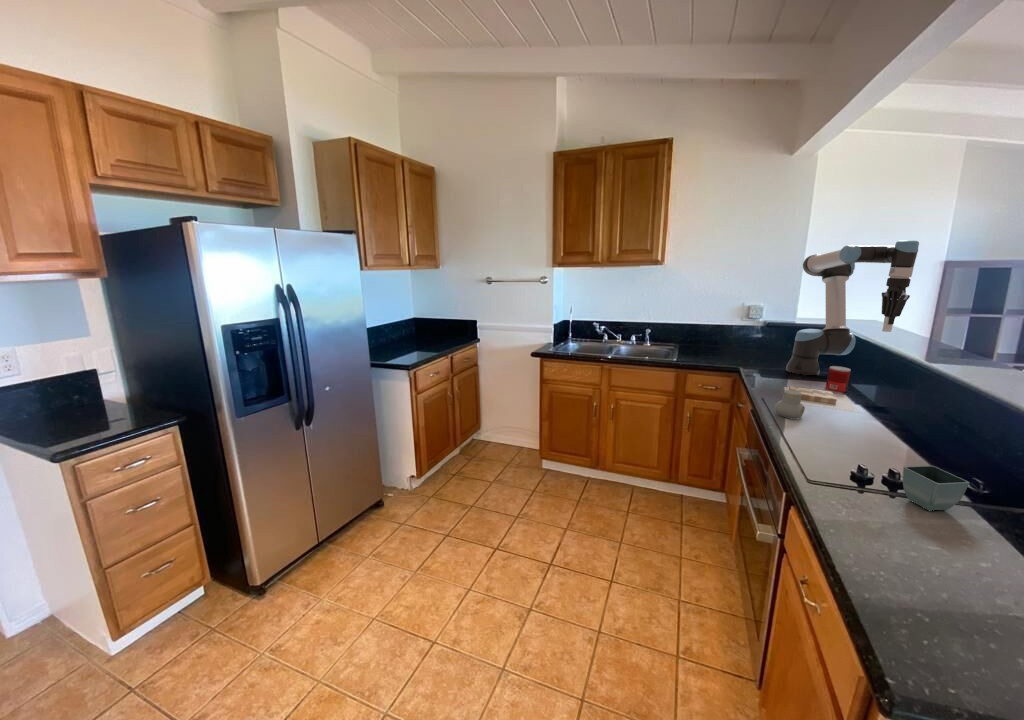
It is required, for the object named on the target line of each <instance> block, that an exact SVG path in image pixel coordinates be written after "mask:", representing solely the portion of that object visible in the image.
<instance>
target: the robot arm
mask: <svg viewBox="0 0 1024 720" xmlns="http://www.w3.org/2000/svg"><path fill="white" fill-rule="evenodd" d="M919 245H920V241H918V240H897V241H896V242H895V245H888V244H887V245H861V244H860V245H859V244H857V245H856V244H849V245H845V246H843V247H842V248H841V249H838V250H835V251H831V252H826V253H824V254H823V253H822V254H821V253H815V254H811V255H809V256H807V257H806V258H805V259H804V261H803V262H802V269H803V271H804V272H805V273H806V274H807V275H810V276H812V277H821V281H822V283H824V284H825V327H824V328H822V329H819V328H805V329H799V330H798V331H797V332H796V334H795V338H794V342H793V348H792V349H793V350H792V355H791V358H790V359H789V361H788V363H787V364H786V367H785V371H786V372H788V373H791V372H792V373H791V374H794V373H795V375H799V374H802V375H801V376H806V375H817V376H819V375H820V371H821V369H820V365H819V361H818V360H819V356H820V355H830V356H832V355H833V356H834V355H835V356H845V355H849V354H850V353H851V352H852V351H853V350H854V348H855V345H856V341H857V340H856V337H855V334H853V333H851V332H850V328H849V327H848V326H847V319H846V318H847V314H846V313H847V312H846V311H847V309H846V308H847V302H846V301H847V299H846V297H847V296H846V291H847V290H846V289H847V287H846V284H847V283H846V282H847V281H848V280H849V279H850V277H851V276H852V275H853V274H854V273H855V272H854V271H855V269H856V263H866V264H867V263H870V264H890V267H889V271H888V278H886V279H887V280H886V284H885V285H886V286H887V288H886V291H885V292H884V291H883V292H881V314H882V315H883V316H884V320H883V325H882V329H881V331H882V332H886V333H888V332H889V333H891V332H892V330H893V326H894V324H895V319H896V318H897V317H900V316H901V315H902V312H903V310H904V309H905V308H904V307H905V305H906V303H907V301H908V300H909V299H910V298H911V297H910V295H909V294H907V293H906V291H907V290H906V289H907V288H909V287H910V285H911V277H912V276H913V272H914V266H915V263H916V261H917V260H916V259H917V257H918V253H919ZM912 278H913V277H912Z"/></svg>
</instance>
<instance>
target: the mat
mask: <svg viewBox="0 0 1024 720" xmlns="http://www.w3.org/2000/svg"><path fill="white" fill-rule="evenodd" d="M783 390H784V391H786V390H789V386H788V387H787V386H783ZM833 394H834V396H835V397H836V399H837V401H836V405H834V404H827V403H820V402H813V401H806V400H801V402H800V403H801V404H802V405H806V406H811V407H818V408H819V407H821V408H827V409H832V410H833V409H834V410H840V411H848V412H853V413H854V412H855V413H859V411H858V410H857V409H856V407H855V405H854V404H853V403H852V402H851V401H850V399H849V397H848V396H847V395H846V394H838V393H833Z"/></svg>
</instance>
